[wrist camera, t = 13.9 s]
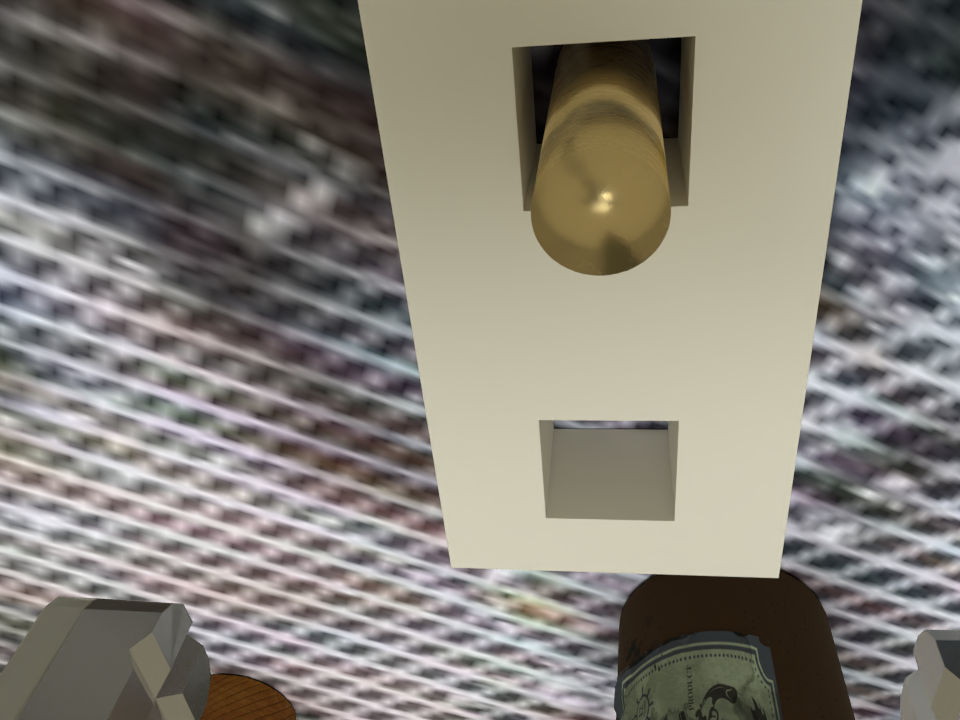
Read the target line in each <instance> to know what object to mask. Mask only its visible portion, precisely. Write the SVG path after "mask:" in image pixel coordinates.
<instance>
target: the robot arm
mask: <svg viewBox="0 0 960 720" xmlns="http://www.w3.org/2000/svg"><path fill="white" fill-rule="evenodd" d="M191 624H192V620H191V618H190V616H189V614H188V612H187V610H186V608H185V606H184V604H177V603H161V602H145V601H129V600H113V599H99V598H76V597H58V598H56V599H55V600H54V601H52V602H51V603H50V604H48V605H47V606H45V608H44V609H43V610H42V612H41V613H40V615H39V616H38V618H37V620H36V621H35V623H34V624H33V626H32V627H31V629H30V630H29V632H28V633H27V635H26V636H25V638H24V639H23V641H22V642H21V644H20V646H19V647H18V649H17V650H16V652H15V653H14V655H13V656H12V658H11V659H10V661H9V662H8V664H7V665H6V667H5V669H4V670H3V672H2V673H1V675H0V720H200V719H201V717H202V714H203V712H204V709H205V707H206V704H207V700H208V693H209V687H210V680H211V673H210V665H209V659H208V656H207V654H206V651H205V649H204V647H203V645H201V644H200V643H198V642H197V641H196V640H194V639H193V638H192V637H190V636H189V635H188V634H187V633H188V631H189V629H190V626H191ZM913 653H914V656H915V659H916V662H917V666H918V670H917V671H915V672H914V673H912V674H911V675H909V676H908V677H906V678H905V681H904V685H903V690H902V694H901V698H900V701H901V720H960V630H924V631H923V632H922V633H921V634H920V635H918V638H917V641H916V644H915V647H914V650H913Z"/></svg>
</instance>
